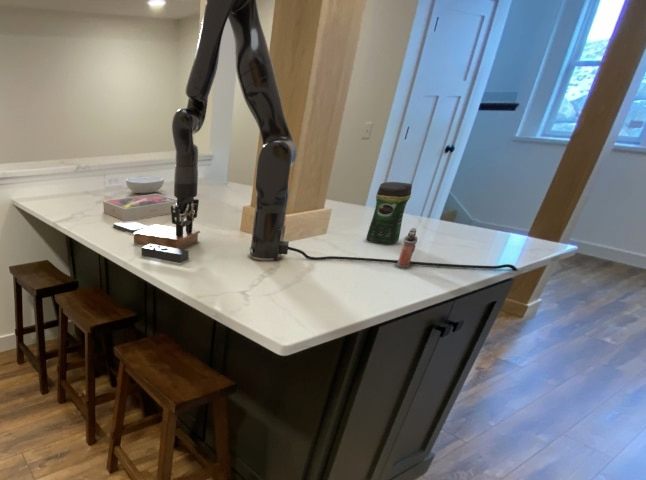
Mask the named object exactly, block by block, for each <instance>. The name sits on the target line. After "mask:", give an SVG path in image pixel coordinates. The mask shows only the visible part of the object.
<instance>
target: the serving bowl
mask: <svg viewBox="0 0 646 480" xmlns="http://www.w3.org/2000/svg"><path fill="white" fill-rule="evenodd" d="M164 181H165V178H164V177H161V176H155V175H142V176H141V175H140V176H132V177H128V178H126V179H125V183H126V186H127V188H128V189H129V190H130V191H131V192H134V193H137V194H139V195H150V194H154V193H155V192H158V191H159V190H161V189H162V187H163V185H164Z"/></svg>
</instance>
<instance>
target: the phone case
mask: <svg viewBox="0 0 646 480" xmlns="http://www.w3.org/2000/svg"><path fill="white" fill-rule="evenodd" d="M148 227H150V226H148V225H146V224H142V223H140V222H136V221H134V220H129V221H119V222H114V223H113V228H114V229H118V230H121V231H124V232H127V233H129V234H134V232H137V231H140V230H142V229H145V228H148Z"/></svg>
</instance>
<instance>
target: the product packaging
mask: <svg viewBox="0 0 646 480" xmlns="http://www.w3.org/2000/svg"><path fill="white" fill-rule="evenodd" d="M176 203H177V198H173V197H170V196H166V195H163V194H158V193H149V194H142V195H135V196H130V197H121V198H115V199H107V200H102V204H103V213H104V214H106V215H109V216H112V217H114V218H116V219H119V220H122V221H123V222H125V221H134V220H135V221H136V220H141V219H147V218H153V217H159V216H166V215H171V206H172V205H173V206H175V205H176Z"/></svg>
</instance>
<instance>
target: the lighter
mask: <svg viewBox="0 0 646 480" xmlns="http://www.w3.org/2000/svg"><path fill="white" fill-rule="evenodd" d="M416 235H417V228H416V227H412V228H411V229H409V232H408V233H407V235H406V236H404V238H403V241H402V247H401V250H400V254H399V257H398V261H397V263H396V268H397V269H400V270H401V269H403V270H405V269H408V268H409V267H410V266H411V264H410V261H412V256H413V253H414V252H415V249H416V244H417V243H418V240H419V239H418V236H416Z"/></svg>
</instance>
